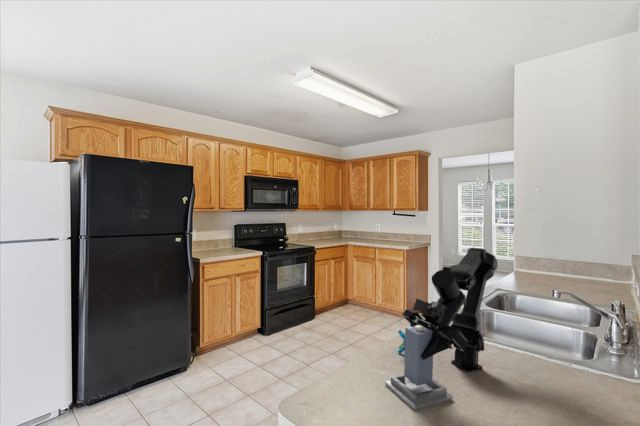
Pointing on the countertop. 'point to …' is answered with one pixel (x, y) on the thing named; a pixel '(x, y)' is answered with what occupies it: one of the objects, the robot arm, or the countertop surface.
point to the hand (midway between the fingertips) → (414, 354)
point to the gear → (402, 343)
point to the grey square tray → (418, 392)
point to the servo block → (417, 355)
